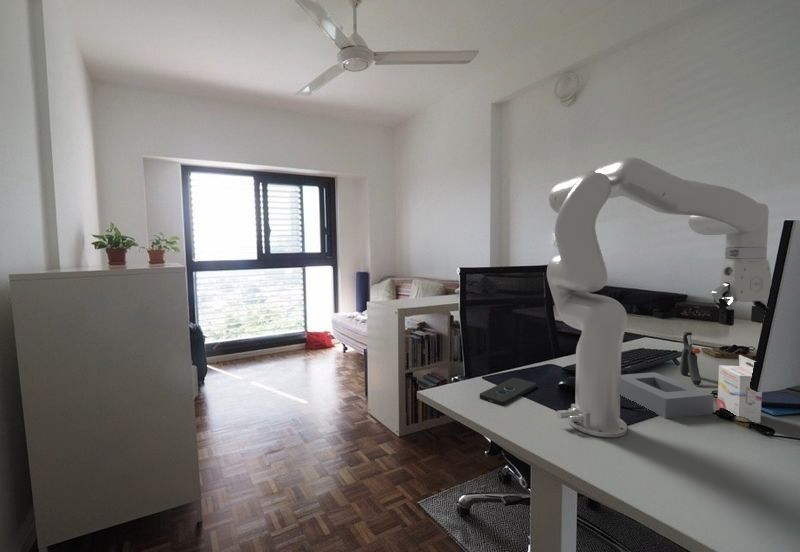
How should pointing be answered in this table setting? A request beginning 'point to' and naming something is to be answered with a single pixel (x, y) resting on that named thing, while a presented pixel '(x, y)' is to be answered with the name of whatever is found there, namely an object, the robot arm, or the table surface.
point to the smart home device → (507, 391)
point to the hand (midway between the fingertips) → (742, 323)
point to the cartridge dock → (666, 395)
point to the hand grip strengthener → (690, 359)
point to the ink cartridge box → (739, 391)
